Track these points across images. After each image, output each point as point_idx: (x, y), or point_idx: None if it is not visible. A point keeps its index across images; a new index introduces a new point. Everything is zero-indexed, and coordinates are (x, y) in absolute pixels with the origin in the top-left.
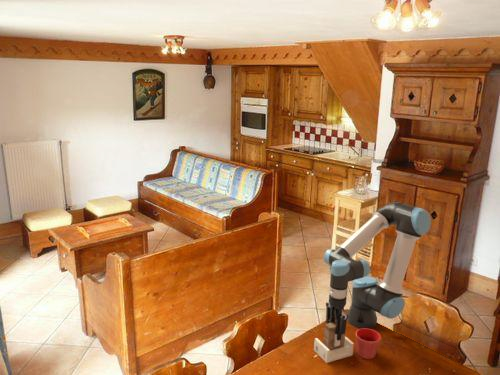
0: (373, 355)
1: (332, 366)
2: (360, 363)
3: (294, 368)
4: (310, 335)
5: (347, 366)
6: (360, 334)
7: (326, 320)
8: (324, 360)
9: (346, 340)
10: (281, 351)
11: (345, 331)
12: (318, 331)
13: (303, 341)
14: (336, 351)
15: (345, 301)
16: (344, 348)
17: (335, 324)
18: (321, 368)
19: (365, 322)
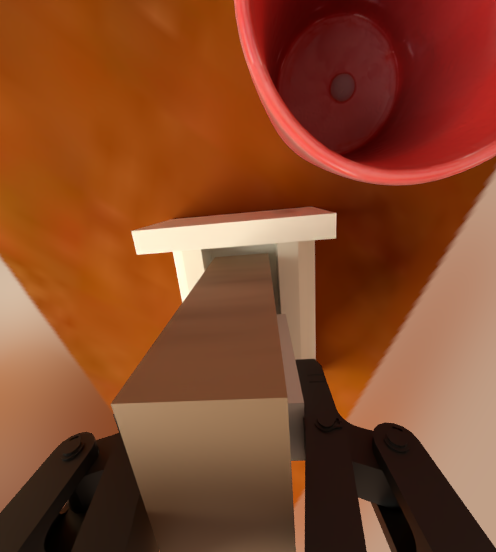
0: (418, 62)
1: (347, 361)
2: (400, 205)
3: (292, 488)
4: (71, 334)
5: (384, 294)
6: (263, 48)
7: (67, 533)
8: None
9: (262, 243)
10: None
11: (275, 309)
12: (34, 275)
13: (120, 387)
14: (299, 331)
15: None
16: (298, 273)
17: (232, 546)
18: (337, 409)
19: None
